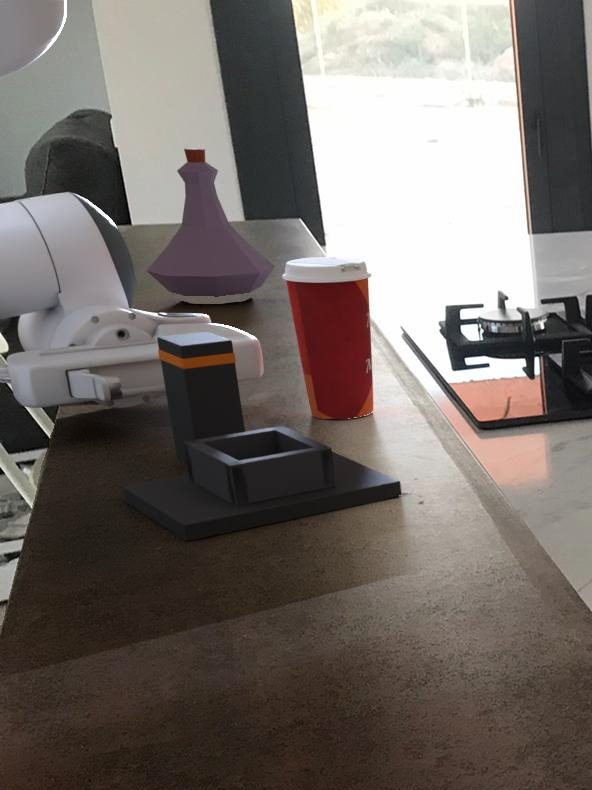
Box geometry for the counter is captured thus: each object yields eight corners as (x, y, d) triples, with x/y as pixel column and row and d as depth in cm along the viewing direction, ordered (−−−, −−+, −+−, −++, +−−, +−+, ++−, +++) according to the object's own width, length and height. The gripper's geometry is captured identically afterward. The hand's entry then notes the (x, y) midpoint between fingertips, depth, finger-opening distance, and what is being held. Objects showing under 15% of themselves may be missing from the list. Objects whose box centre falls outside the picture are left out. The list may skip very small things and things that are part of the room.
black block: (199, 471, 103) (179, 346, 99) (175, 457, 106) (155, 336, 102) (250, 461, 105) (233, 340, 102) (225, 449, 109) (207, 331, 105)
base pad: (186, 542, 87) (176, 482, 86) (124, 501, 95) (114, 446, 93) (402, 496, 98) (396, 442, 96) (329, 463, 105) (323, 413, 104)
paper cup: (402, 410, 122) (388, 260, 117) (338, 427, 116) (320, 269, 111) (345, 399, 126) (329, 253, 121) (280, 415, 120) (260, 261, 115)
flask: (284, 306, 176) (265, 152, 168) (152, 312, 169) (125, 152, 162) (274, 288, 189) (255, 145, 182) (151, 293, 183) (126, 145, 175)
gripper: (-23, 334, 109) (27, 360, 100) (220, 311, 122) (284, 332, 113) (-7, 407, 111) (43, 439, 102) (230, 377, 124) (293, 402, 115)
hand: (172, 382), depth 108 cm, fingers open, 8 cm apart
